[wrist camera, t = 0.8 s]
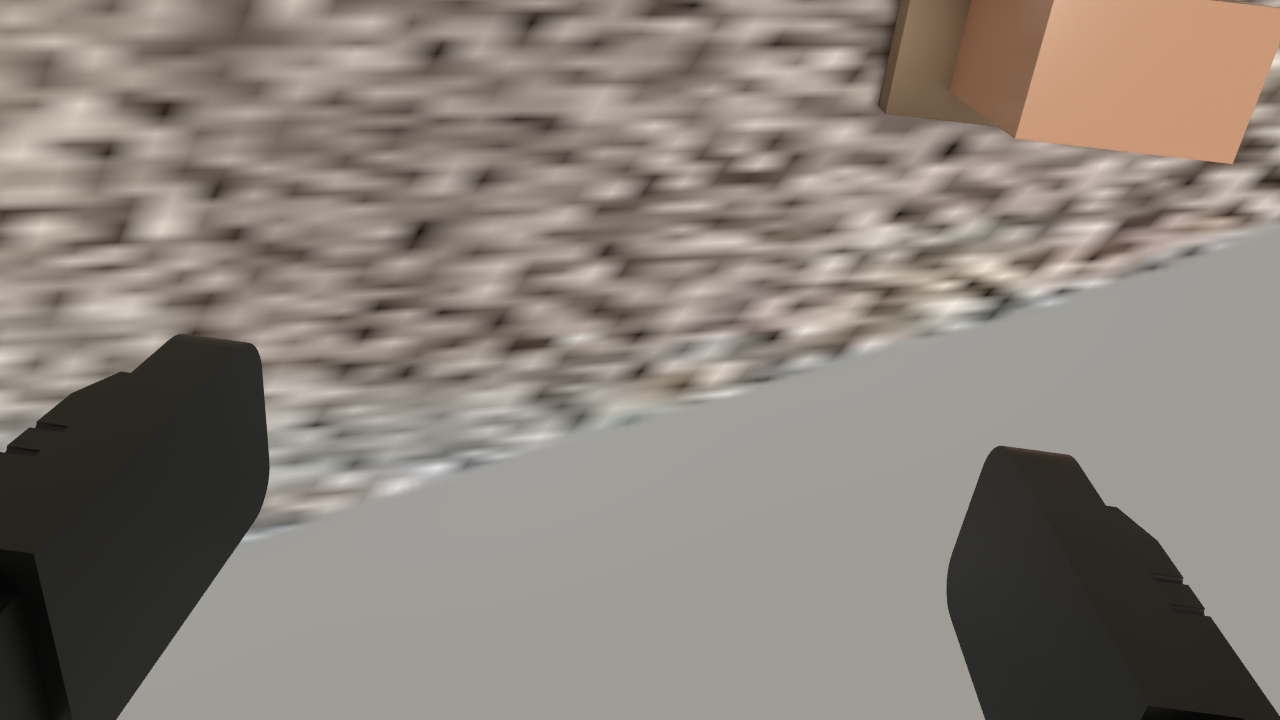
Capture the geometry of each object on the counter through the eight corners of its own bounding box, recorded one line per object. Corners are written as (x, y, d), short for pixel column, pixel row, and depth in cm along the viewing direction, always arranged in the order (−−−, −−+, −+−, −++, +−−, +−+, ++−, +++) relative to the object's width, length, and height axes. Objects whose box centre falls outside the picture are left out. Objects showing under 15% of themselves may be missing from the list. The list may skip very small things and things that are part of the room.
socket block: (979, -33, 30) (1059, -18, 24) (1161, -12, 30) (1292, 9, 24) (948, 91, 32) (1014, 138, 25) (1120, 111, 32) (1232, 163, 25)
